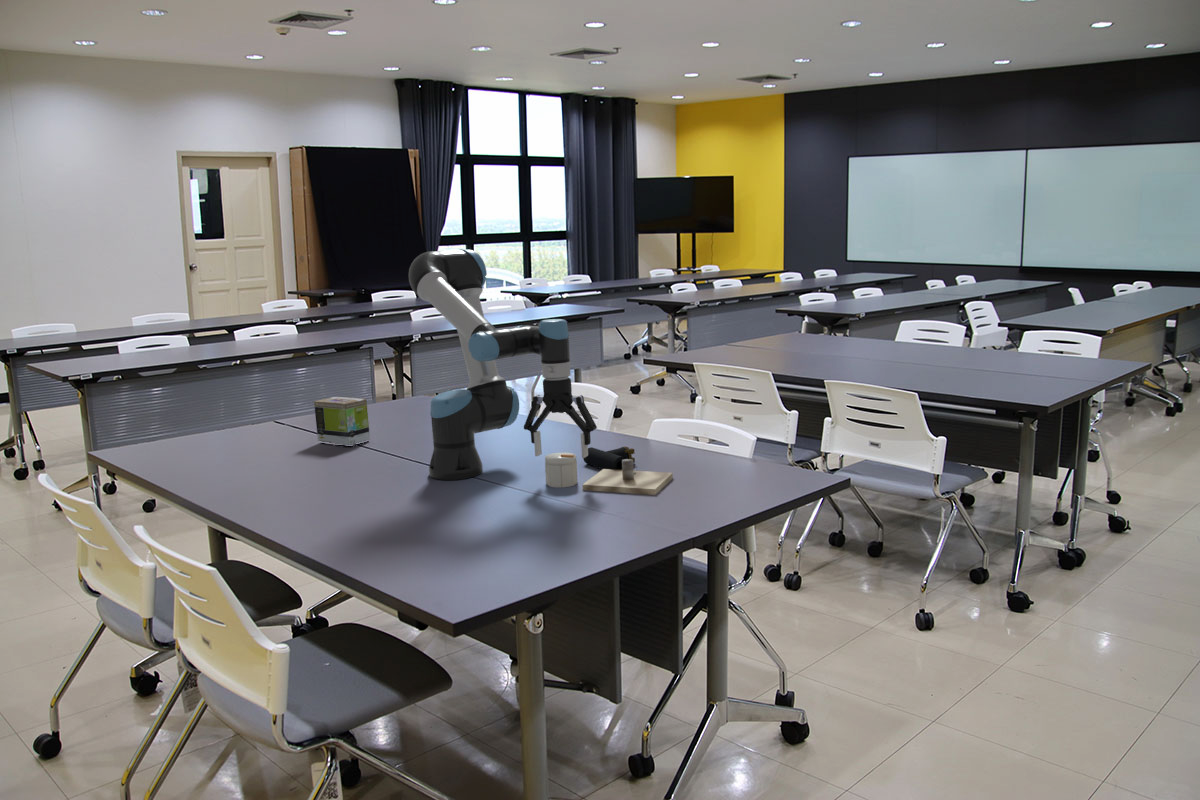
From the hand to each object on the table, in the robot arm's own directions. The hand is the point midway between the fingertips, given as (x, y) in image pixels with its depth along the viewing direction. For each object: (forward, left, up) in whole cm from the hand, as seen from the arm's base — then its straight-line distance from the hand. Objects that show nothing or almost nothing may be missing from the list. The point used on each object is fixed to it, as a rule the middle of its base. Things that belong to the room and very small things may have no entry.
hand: (561, 456), depth 257 cm
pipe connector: (+8, +20, -8) cm, 23 cm away
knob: (0, 0, -8) cm, 8 cm away
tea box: (-91, +30, -8) cm, 97 cm away
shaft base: (+18, +3, -8) cm, 19 cm away
